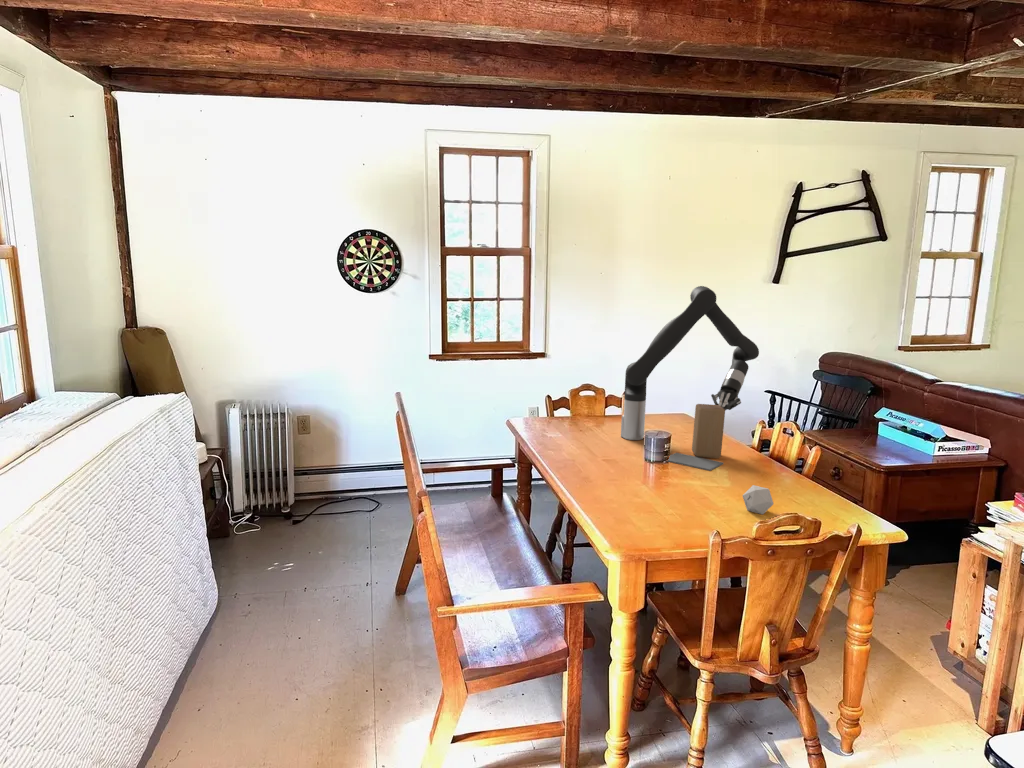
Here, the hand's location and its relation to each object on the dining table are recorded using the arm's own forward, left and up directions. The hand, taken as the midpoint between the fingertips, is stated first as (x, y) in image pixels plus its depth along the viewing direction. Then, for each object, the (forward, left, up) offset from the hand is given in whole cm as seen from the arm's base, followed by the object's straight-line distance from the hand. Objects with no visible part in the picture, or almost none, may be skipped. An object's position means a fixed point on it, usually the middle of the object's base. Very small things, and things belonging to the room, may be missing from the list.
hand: (718, 415), depth 278 cm
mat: (0, -22, -15) cm, 26 cm away
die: (+39, -57, -15) cm, 70 cm away
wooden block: (0, -10, -15) cm, 18 cm away
